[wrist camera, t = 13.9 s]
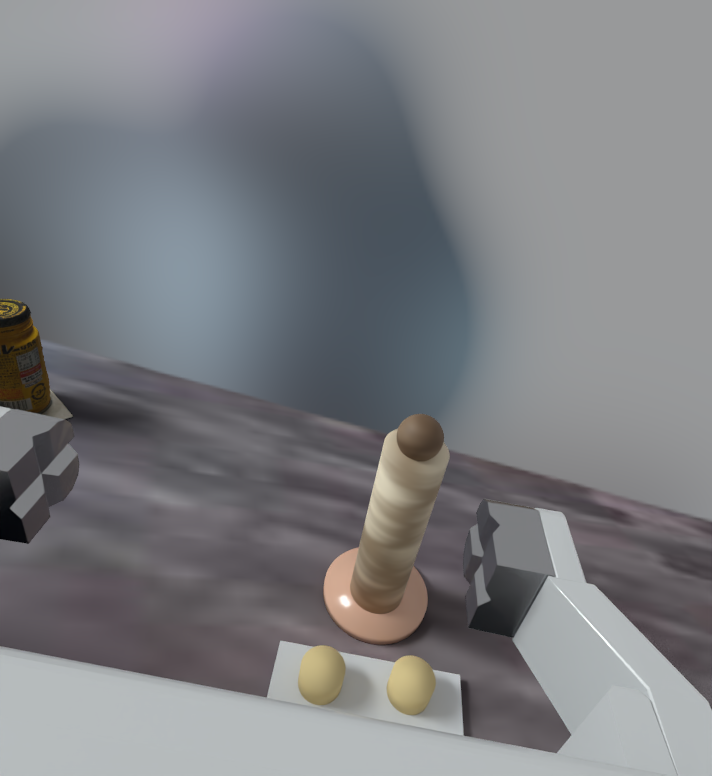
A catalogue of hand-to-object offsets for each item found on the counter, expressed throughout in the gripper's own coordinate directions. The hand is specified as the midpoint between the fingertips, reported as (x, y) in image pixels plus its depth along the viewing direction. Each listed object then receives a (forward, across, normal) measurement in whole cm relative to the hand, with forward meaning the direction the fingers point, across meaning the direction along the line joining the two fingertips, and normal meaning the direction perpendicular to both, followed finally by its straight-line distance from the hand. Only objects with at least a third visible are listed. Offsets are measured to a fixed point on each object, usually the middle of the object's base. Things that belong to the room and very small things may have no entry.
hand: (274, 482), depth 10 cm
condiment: (+36, -35, -32) cm, 60 cm away
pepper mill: (+21, +6, -31) cm, 38 cm away
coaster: (+21, +6, -32) cm, 39 cm away
